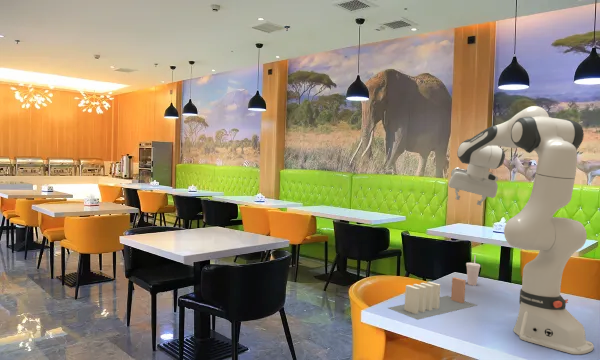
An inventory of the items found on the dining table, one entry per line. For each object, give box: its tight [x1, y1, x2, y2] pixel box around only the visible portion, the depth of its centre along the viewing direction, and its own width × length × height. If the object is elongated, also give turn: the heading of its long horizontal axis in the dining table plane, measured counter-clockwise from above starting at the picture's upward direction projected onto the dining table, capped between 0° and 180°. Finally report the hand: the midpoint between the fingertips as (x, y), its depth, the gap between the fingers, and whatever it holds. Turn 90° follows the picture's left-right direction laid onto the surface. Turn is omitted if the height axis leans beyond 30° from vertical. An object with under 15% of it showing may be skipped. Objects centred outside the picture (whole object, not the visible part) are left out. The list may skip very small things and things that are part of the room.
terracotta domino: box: [450, 277, 467, 303], centre depth 179 cm, size 2×5×9 cm, turn 36°
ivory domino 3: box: [419, 282, 434, 311], centre depth 167 cm, size 2×5×9 cm, turn 36°
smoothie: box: [465, 254, 481, 286], centre depth 210 cm, size 6×6×14 cm
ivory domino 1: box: [404, 284, 420, 314], centre depth 162 cm, size 2×5×9 cm, turn 36°
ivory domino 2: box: [412, 283, 427, 312], centre depth 165 cm, size 2×5×9 cm, turn 36°
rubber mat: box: [388, 295, 478, 321], centre depth 170 cm, size 14×36×1 cm, turn 126°
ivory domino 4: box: [426, 281, 442, 309], centre depth 169 cm, size 2×5×9 cm, turn 36°
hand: (467, 202), depth 199 cm, fingers open, 8 cm apart
